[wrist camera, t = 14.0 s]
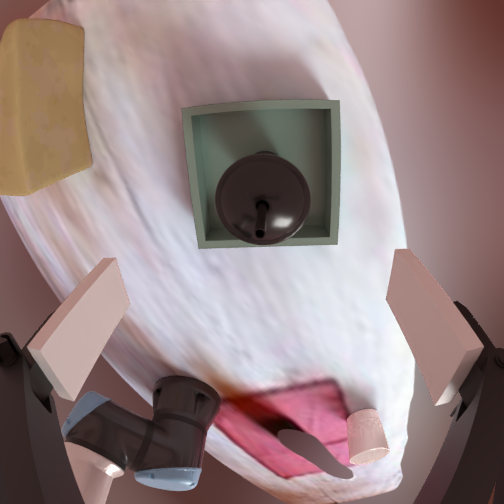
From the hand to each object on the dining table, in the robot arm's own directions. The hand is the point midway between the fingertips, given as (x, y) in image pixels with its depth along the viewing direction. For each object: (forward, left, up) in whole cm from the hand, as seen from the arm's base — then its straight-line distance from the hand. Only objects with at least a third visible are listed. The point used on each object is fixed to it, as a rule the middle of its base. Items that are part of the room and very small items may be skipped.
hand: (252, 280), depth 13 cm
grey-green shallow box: (0, 0, -26) cm, 26 cm away
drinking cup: (0, 0, -25) cm, 25 cm away
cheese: (-27, +15, -26) cm, 40 cm away
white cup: (+22, -58, -26) cm, 67 cm away
